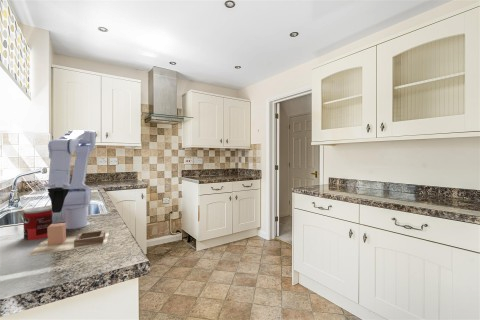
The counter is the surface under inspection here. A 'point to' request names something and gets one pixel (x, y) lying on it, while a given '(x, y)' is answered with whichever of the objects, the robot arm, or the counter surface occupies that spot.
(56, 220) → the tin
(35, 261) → the counter surface
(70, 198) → the robot arm
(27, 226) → the canned food
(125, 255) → the counter surface
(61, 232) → the block
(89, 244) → the board
